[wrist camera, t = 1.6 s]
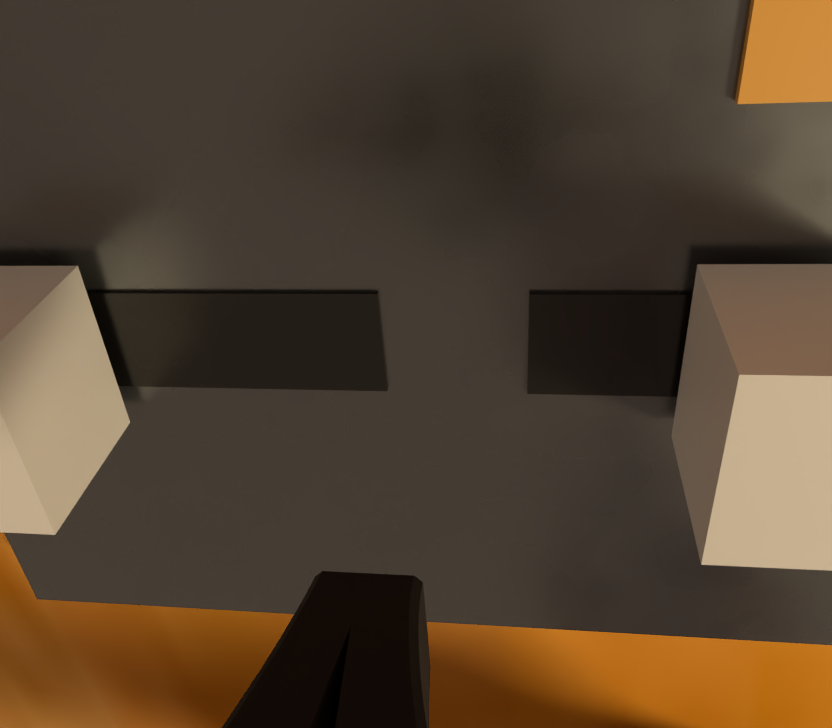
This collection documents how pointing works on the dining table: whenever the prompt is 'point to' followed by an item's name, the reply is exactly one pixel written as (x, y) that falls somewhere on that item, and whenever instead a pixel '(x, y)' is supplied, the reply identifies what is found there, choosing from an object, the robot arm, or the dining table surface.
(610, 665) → the dining table surface
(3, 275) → the block
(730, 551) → the block
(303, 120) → the breaker panel
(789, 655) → the dining table surface
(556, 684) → the dining table surface
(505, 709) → the dining table surface
